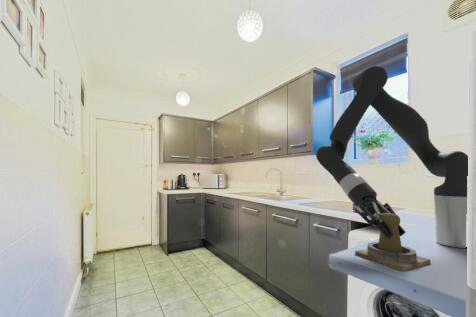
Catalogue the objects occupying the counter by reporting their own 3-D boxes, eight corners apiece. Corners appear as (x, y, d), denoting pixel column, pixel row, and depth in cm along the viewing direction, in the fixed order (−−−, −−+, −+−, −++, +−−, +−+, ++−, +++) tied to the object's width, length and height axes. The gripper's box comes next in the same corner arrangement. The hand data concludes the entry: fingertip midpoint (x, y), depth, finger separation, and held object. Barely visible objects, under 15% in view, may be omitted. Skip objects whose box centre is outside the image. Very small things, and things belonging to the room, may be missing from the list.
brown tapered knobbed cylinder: (379, 247, 69) (378, 211, 70) (403, 252, 65) (402, 213, 66) (376, 252, 65) (375, 213, 65) (402, 257, 61) (401, 215, 62)
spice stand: (382, 249, 73) (381, 239, 74) (430, 263, 62) (429, 252, 62) (355, 254, 68) (354, 244, 68) (402, 271, 56) (402, 258, 56)
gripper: (349, 181, 70) (391, 230, 58) (378, 182, 76) (421, 226, 65) (335, 197, 74) (371, 245, 63) (363, 196, 81) (401, 240, 69)
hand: (396, 235), depth 64 cm, fingers closed on brown tapered knobbed cylinder, 5 cm apart
